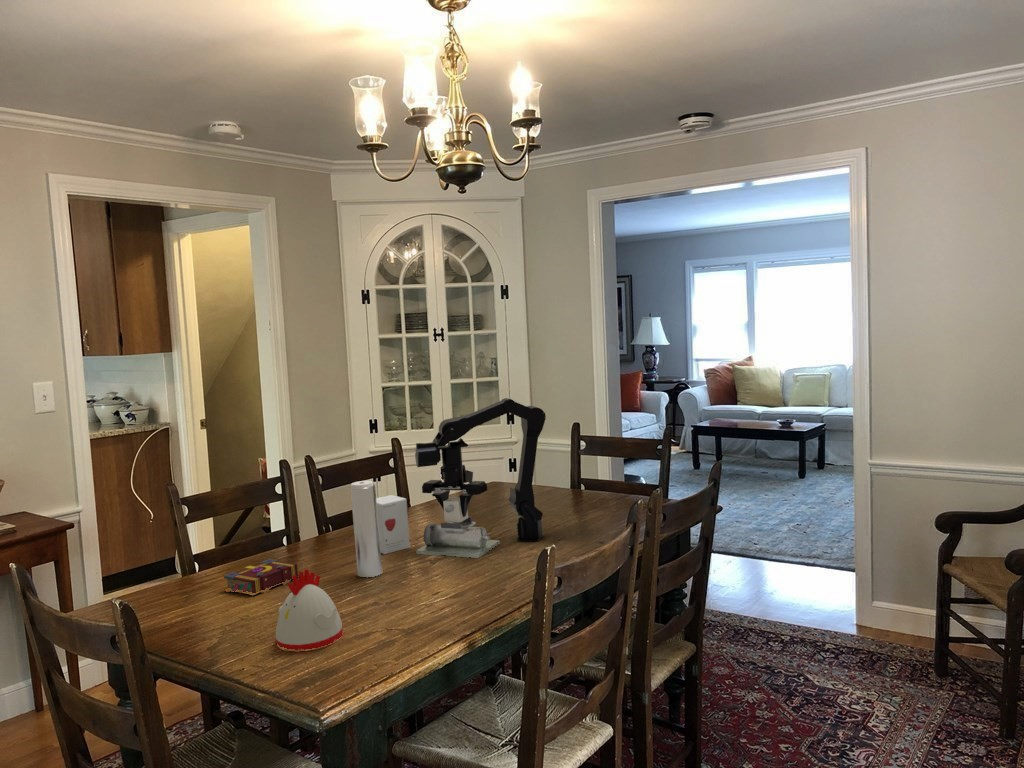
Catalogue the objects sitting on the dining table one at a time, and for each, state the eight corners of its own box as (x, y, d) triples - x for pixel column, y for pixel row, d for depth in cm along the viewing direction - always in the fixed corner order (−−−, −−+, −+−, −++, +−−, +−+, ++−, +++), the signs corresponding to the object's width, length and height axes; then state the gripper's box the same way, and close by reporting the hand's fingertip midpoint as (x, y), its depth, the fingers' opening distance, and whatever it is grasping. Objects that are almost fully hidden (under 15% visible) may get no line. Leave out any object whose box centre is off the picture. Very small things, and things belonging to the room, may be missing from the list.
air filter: (377, 578, 205) (369, 484, 203) (353, 578, 206) (346, 485, 204) (385, 570, 211) (378, 479, 209) (363, 570, 212) (355, 479, 210)
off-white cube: (468, 517, 227) (466, 497, 227) (456, 524, 221) (455, 503, 221) (453, 517, 229) (451, 497, 229) (441, 523, 223) (439, 502, 223)
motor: (500, 543, 229) (498, 515, 228) (479, 558, 216) (477, 528, 216) (440, 540, 237) (438, 512, 237) (416, 553, 225) (414, 524, 224)
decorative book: (299, 579, 209) (297, 561, 209) (250, 599, 195) (248, 580, 195) (270, 574, 215) (269, 556, 215) (221, 593, 202) (219, 575, 201)
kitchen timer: (262, 645, 166) (255, 576, 164) (312, 622, 177) (306, 557, 176) (307, 657, 158) (300, 585, 157) (356, 632, 169) (350, 564, 168)
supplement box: (384, 555, 226) (380, 504, 224) (369, 549, 232) (365, 500, 231) (411, 547, 231) (407, 498, 230) (395, 542, 238) (391, 494, 237)
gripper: (493, 458, 228) (497, 510, 229) (438, 457, 236) (441, 508, 237) (476, 465, 218) (480, 520, 219) (419, 464, 226) (423, 517, 227)
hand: (456, 516), depth 226 cm, fingers closed on off-white cube, 5 cm apart
